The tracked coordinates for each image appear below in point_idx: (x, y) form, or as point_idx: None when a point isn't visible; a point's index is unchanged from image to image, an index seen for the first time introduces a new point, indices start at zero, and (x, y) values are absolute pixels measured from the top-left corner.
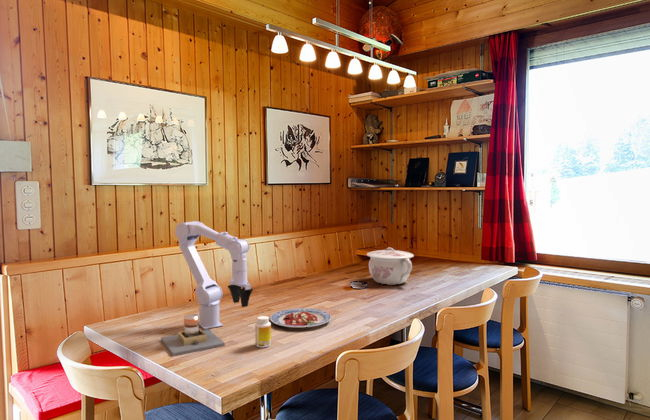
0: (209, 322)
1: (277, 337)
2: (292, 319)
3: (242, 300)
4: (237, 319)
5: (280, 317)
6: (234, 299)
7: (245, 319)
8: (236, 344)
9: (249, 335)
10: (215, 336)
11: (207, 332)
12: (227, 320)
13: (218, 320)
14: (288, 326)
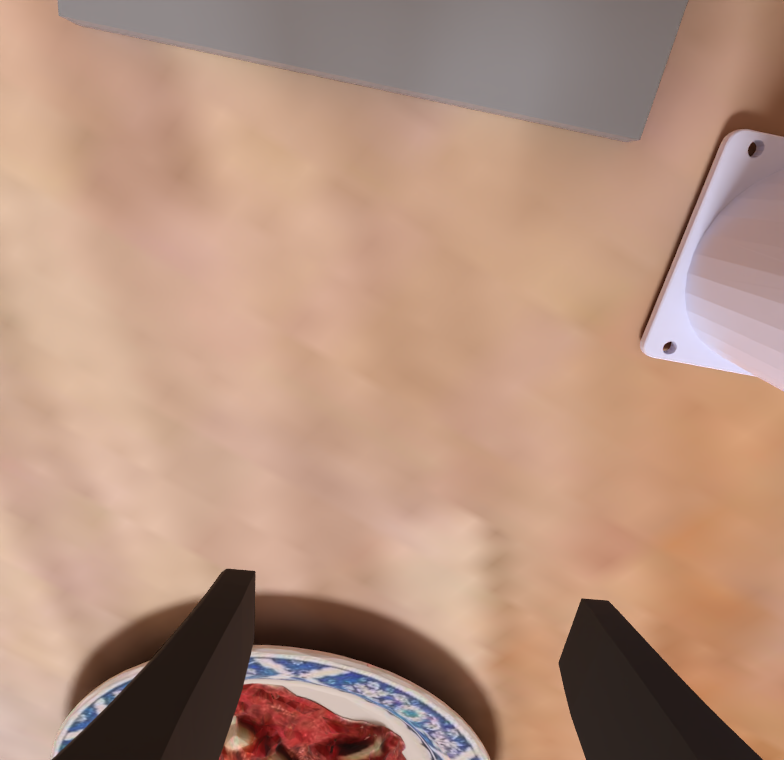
0: (753, 215)
1: (56, 519)
2: (256, 753)
3: (136, 685)
4: (678, 533)
5: (412, 734)
6: (610, 662)
7: (619, 574)
8: (58, 161)
9: (229, 392)
10: (339, 55)
11: (541, 53)
12: (737, 463)
13: (718, 340)
14: (133, 668)
